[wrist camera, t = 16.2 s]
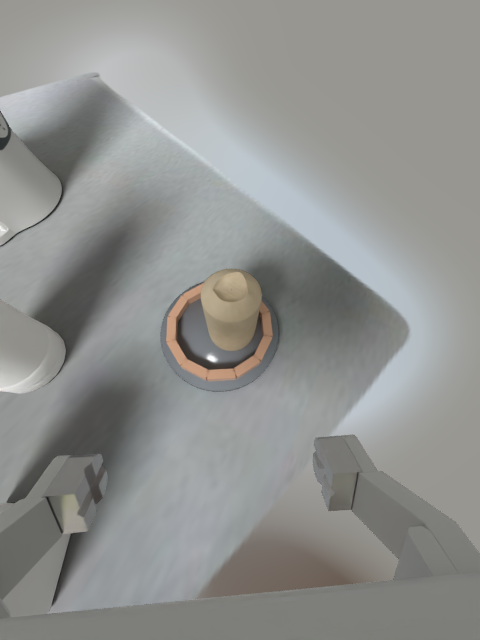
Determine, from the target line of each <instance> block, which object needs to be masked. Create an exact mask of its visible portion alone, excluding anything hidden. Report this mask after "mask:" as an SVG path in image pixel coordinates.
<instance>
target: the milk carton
mask: <svg viewBox="0 0 480 640" xmlns="http://www.w3.org/2000/svg"><path fill="white" fill-rule="evenodd" d="M13 504H15V503H3V504H0V514H1V513H2V512H4V511H5V510H6V509H8V508H9V507H10V506H12V505H13ZM70 535H71V533H69V534H62V537H61V538H60V539H59V540H58V541H57V542H56V543H55V544H54V545H53V546H52V547H51V549H50V550H49V551H48V552H47V553H46V554H45V555H44V556H43V557H42V558H41V559H40V560H39V561H38V562H37V564H36V565H35V566H34V567H33V568H32V569H31V570H30V571H29V572H28V573H27V574H26V575H25V576H24V578H23V579H22V580H21V581H20V582H19V583H18V584H17V585H16V586H15V587H14V588H13V589H12V590H11V591H10V593H9V594H8V595H7V596H6V597H5V598H4V599H3V600H2V601H3V602H4V604H5V605H6V607H7V608H8V610H9V611H10V616H11V617H21V616H31V615H42V614H47V613H48V612H49V611H50V608H51V605H52V601H53V597H54V594H55V590H56V586H57V583H58V579H59V575H60V572H61V568H62V564H63V561H64V557H65V553H66V550H67V546H68V542H69V539H70Z"/></svg>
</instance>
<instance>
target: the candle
mask: <svg viewBox="0 0 480 640" xmlns="http://www.w3.org/2000/svg"><path fill="white" fill-rule="evenodd" d="M261 299H262V292H261V288H260V285H259V283H258V282H257V280H256V279H255V278H254V277H253V276H251V275H250V274H249V273H247V272H245V271H242V270H238V269H224V270H221V271H218V272H216V273H214V274H212V275H211V276H210V277H209V278H208V279H207V280H206V281H205V283H204V284H203V286H202V289H201V302H202V307H203V311H204V315H205V319H206V323H207V328H208V332H209V335H210V338H211V340H212V341H213V342H214V344H215V345H217V346H218V347H219V348H221V349H223V350H227V351H237V350H240V349H242V348H244V347H246V346H247V345H248V344H249V343H250V342H251V340H252V339H253V337H254V333H255V329H256V324H257V320H258V315H259V310H260V305H261Z"/></svg>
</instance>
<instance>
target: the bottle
mask: <svg viewBox="0 0 480 640" xmlns="http://www.w3.org/2000/svg"><path fill="white" fill-rule="evenodd" d="M65 354H66V349H65V344H64V341H63V339H62V338H61V337H60V335H59V334H58V333H56V332H55V331H53V330H52V329H51V328H50V327H48V326H46V325H45V324H43V323H41V322H39V321H37V320H35V319H33V318H31V317H29V316H27V315H26V314H24V313H22V312H21V311H19V310H17V309H16V308H14V307H12V306H11V305H9V304H7V303H5V302H4V301H2V300H0V391H4V392H12V393H27V392H31V391H35V390H37V389H39V388H40V387H42V386H44V385H46V384H47V383H49V382H50V381H51V380H52V379H53V378H54V377H55V376H56V375H57V374H58V372H59V370H60V368H61V366H62V365H63V363H64V359H65Z"/></svg>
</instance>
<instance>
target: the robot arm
mask: <svg viewBox="0 0 480 640" xmlns="http://www.w3.org/2000/svg"><path fill="white" fill-rule="evenodd" d="M61 193H62V186H61V182H60V180H59V179H58V177H57V176H56V175H55V174H54V173H53V172H51V171H50V170H49V169H48V168H47V167H46V166H45V165H44V164H43V163H42V162H41V161H40V160H39V159H38V158H37V157H36V156H35V155H34V154H33V153H32V152H31V151H30V150H29V149H28V148H27V147H26V146H25V144H24V143H23V142H22V141H21V140H20V139H19V138H18V136H17V135H16V134H15V133H14V132H13V131H12V129H11V128H10V127H9V125H8V123H7V121H6V120H5V118H4V116H3V115H2V113H1V111H0V246H1V245H2V244H4V243H5V242H7V241H8V240H9V239H10V238H12V237H13V236H14V235H15V234H16V233H18V232H20V231H22V230H24V229H26V228H28V227H30V226H32V225H34V224H36V223H38V222H39V221H41V220H42V219H43V218H45V217H46V216H47V215H48V214H49V213H50V212H51V211H52V210H53V209H54V208H55V206H56V205H57V203H58V202H59V199H60V197H61ZM314 447H315V449H316V451H315V453H314V454H313V467H314V472H315V475H316V478H317V481H318V482H319V483H320V484H321V485H322V495H323V498H324V500H325V503H326V506H327V509H328V511H337V510H352V512H353V513H354V514H355V515H356V516H357V517H358V518H359V519H360V520H361V521H362V522H363V523H364V524H365V525H366V526H367V527H368V528H369V529H370V530H371V531H372V532H373V533H374V534H375V535H376V536H377V537H378V539H379V540H380V541H382V543H383V544H384V545H385V546H386V547H387V548H388V549H389V550H390V551H391V552H392V553H393V554H394V555H395V556H396V557H397V558H398V559H399V561H398V565H397V568H396V571H395V575H394V578H393V580H390V581H381V582H371V583H360V584H350V585H339V586H329V587H319V588H309V589H298V590H288V591H278V592H267V593H257V594H247V595H236V596H226V597H216V598H206V599H195V600H185V601H174V602H164V603H154V604H144V605H134V606H123V607H113V608H103V609H93V610H83V611H72V612H62V613H52V614H42V615H31V616H21V617H11V616H10V611H9V610H8V608H7V607H6V605H5V604H4V602H3V601H2V600H3V599H4V598H5V597H6V596H7V595H8V594H9V593H10V591H11V590H12V589H13V588H14V587H15V586H16V585H17V584H18V583H19V582H20V581H21V580H22V579H23V578H24V576H25V575H26V574H27V573H28V572H29V571H30V570H31V569H32V568H33V567H34V566H35V565H36V564H37V562H38V561H39V560H40V559H41V558H42V557H43V556H44V555H45V554H46V553H47V552H48V551H49V550H50V549H51V547H52V546H53V545H54V544H55V543H56V542H57V541H58V540H59V539H60V538H61V537H62V534H69V533H77V532H86V531H89V528H90V526H91V524H92V522H93V519H94V517H95V515H96V512H97V508H96V504H97V503H98V502H99V501H100V500H101V499H102V498H103V496H104V494H105V491H106V488H107V482H108V474H107V471H106V469H105V468H104V467H102V466H101V465H102V463H103V461H104V460H103V458H102V455H101V454H79V455H62V456H57V457H55V458H54V459H53V460H52V461H51V463H50V464H49V466H48V467H47V468H46V470H45V471H44V473H43V474H42V475H41V477H40V478H39V480H38V481H37V483H36V484H35V485H34V487H33V488H32V490H31V491H30V492H29V494H28V495H27V497H26V498H25V499H20V500H19V501H17V502H16V503H15V504H13V505H12V506H10V507H9V508H8V509H6V510H5V511H4V512H2V513H1V514H0V640H480V553H479V552H478V550H477V549H476V548H475V546H474V545H473V544H472V543H471V541H470V540H469V539H468V537H467V536H466V535H465V533H464V532H463V531H462V529H461V528H460V527H459V526H458V524H457V523H456V522H455V521H454V520H452V519H451V518H449V517H448V516H446V515H445V514H443V513H442V512H441V511H439V510H438V509H436V508H435V507H433V506H432V505H430V504H429V503H428V502H426V501H425V500H423V499H422V498H420V497H419V496H417V495H416V494H414V493H413V492H412V491H410V490H409V489H407V488H406V487H404V486H403V485H401V484H400V483H398V482H397V481H396V480H394V479H393V478H391V477H390V476H388V475H387V474H386V473H384V472H382V471H377V469H376V467H375V466H374V464H373V463H372V461H371V459H370V458H369V456H368V455H367V453H366V451H365V450H364V448H363V447H362V445H361V443H360V442H359V440H358V439H357V437H356V436H355V435H343V436H330V437H318V438H315V440H314Z"/></svg>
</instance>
